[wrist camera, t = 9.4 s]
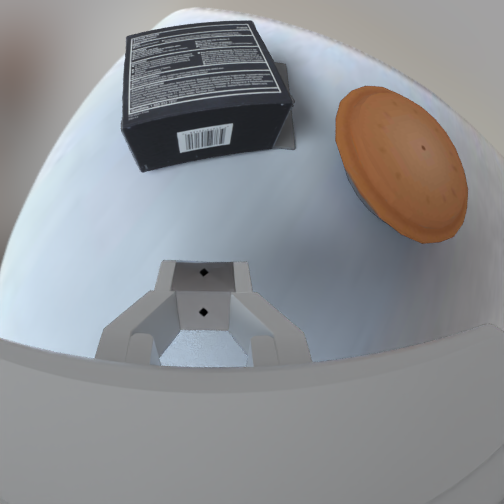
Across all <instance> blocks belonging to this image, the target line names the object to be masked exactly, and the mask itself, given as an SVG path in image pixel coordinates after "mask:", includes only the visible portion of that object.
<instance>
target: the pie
mask: <svg viewBox="0 0 504 504" xmlns="http://www.w3.org/2000/svg"><path fill="white" fill-rule="evenodd" d="M335 141H336V144H337V146H338V149H339V152H340V155H341V158H342V161H343V165H344V167H345V170H346V174H347V177H348V180H349V182H350V184H351V185H352V187H353V189H354V191H355V193H356V194H357V196H358V197H359V199H360V200H361V201H362V202H363V203H364V204H365V206H366V207H367V208H368V209H369V210H370V211H371V212H372V213H373V214H375V215H376V216H377V217H379V218H380V219H381V220H383V221H384V222H385V223H387V224H389V225H390V226H391V227H392V228H394V229H395V230H396V231H398V232H399V233H400V234H401V235H404V236H406V237H408V238H411V239H413V240H415V241H417V242H420V243H422V244H424V243H436V242H442V241H444V240H447V239H449V238H452V237H454V236H455V234H456V233H457V231H458V230H459V229H460V227H461V226H462V224H463V222H464V218H465V214H466V210H467V200H468V187H467V182H466V177H465V173H464V169H463V167H462V163H461V161H460V158H459V156H458V153H457V151H456V148H455V146H454V145H453V143H452V141H451V140H450V138H449V136H448V135H447V133H446V132H445V130H444V129H443V128H442V127H441V126H440V124H439V123H438V122H437V121H436V120H435V118H433V117H432V116H431V115H430V114H429V113H428V112H427V111H426V110H424V109H423V108H422V107H421V106H419V105H417V104H416V103H414V102H413V101H411V100H409V99H408V98H405V97H403V96H402V95H400V94H398V93H395V92H393V91H391V90H388V89H386V88H384V87H376V86H364V87H361V88H358V89H355V90H352V91H351V92H350V93H349V94H348V95H347V96H346V97H345V98H343V99H342V100H341V101H340V104H339V108H338V112H337V115H336V137H335Z"/></svg>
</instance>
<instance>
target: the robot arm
mask: <svg viewBox="0 0 504 504" xmlns="http://www.w3.org/2000/svg"><path fill="white" fill-rule="evenodd" d="M180 330H221V331H229V333H230V334H231V335H232V337H233V338H234V339H235V341H236V342H237V343H238V344H239V346H240V347H241V348H242V350H243V351H244V352H245V353H246V355H247V356H248V357H247V363H246V367H177V366H161V363H160V359H159V358H160V357H161V355H162V354H163V353H164V351H165V350H166V349H167V348H168V346H169V345H170V344H171V343H172V341H173V340H174V339H175V337H176V336H177V335H178V334H179V332H180ZM0 504H504V331H502V330H501V329H499V328H498V327H496V326H494V325H493V324H484V325H481V326H478V327H475V328H472V329H469V330H466V331H463V332H460V333H457V334H453V335H450V336H447V337H443V338H439V339H436V340H432V341H428V342H424V343H420V344H416V345H412V346H408V347H403V348H399V349H394V350H389V351H384V352H379V353H373V354H368V355H362V356H356V357H349V358H342V359H335V360H327V361H319V362H312V358H311V355H310V351H309V348H308V345H307V341H306V338H305V335H304V332H303V331H301V330H300V329H299V328H298V327H297V326H295V325H294V324H293V323H292V322H291V321H290V320H288V319H287V318H286V317H285V316H284V315H283V314H281V313H280V312H279V311H278V310H277V309H276V308H274V307H273V306H272V305H271V304H270V303H269V302H268V301H266V300H265V299H264V298H263V297H262V296H261V295H260V294H258V293H257V292H253V290H252V284H251V278H250V272H249V265H248V262H247V261H244V262H203V261H179V260H177V261H176V260H163V261H162V262H161V265H160V269H159V273H158V276H157V280H156V285H155V289H154V291H149V292H148V293H146V294H145V295H144V296H143V297H141V298H140V299H139V300H138V301H136V302H135V303H134V304H133V305H132V306H130V307H129V308H128V309H127V310H126V311H124V312H123V313H122V314H121V315H119V316H118V317H117V318H116V319H115V320H113V321H112V322H111V323H110V324H109V325H108V326H106V327H105V328H104V329H103V332H102V335H101V338H100V342H99V345H98V348H97V352H96V355H95V359H94V358H87V357H81V356H75V355H70V354H64V353H59V352H54V351H50V350H45V349H41V348H36V347H32V346H28V345H24V344H20V343H17V342H13V341H10V340H6V339H3V338H0Z"/></svg>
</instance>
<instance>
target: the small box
mask: <svg viewBox="0 0 504 504" xmlns="http://www.w3.org/2000/svg"><path fill="white" fill-rule="evenodd" d="M122 101H123V106H122V108H123V109H122V113H123V115H122V121H121V132H122V134H123V136H124V138H125V140H126V142H127V144H128V147H129V149H130V151H131V153H132V155H133V157H134V159H135V161H136V164H137V165H138V167H139V169H140V171H141V172H146V171H150V170H154V169H158V168H162V167H166V166H171V165H175V164H180V163H185V162H190V161H195V160H200V159H206V158H211V157H217V156H222V155H229V154H235V153H242V152H249V151H257V150H264V149H272V148H273V147H274V145H275V143H276V141H277V139H278V137H279V134H280V132H281V130H282V127H283V125H284V123H285V121H286V119H287V116H288V115H289V112H290V110H291V109H292V107H293V104H294V103H295V101H294V99H293V98H292V96H291V95H290V93H289V92H288V90H287V88H286V86H285V83H284V82H283V79H282V77H281V75H280V74H279V71H278V69H277V67H276V65H275V63H274V61H273V59H272V57H271V55H270V54H269V52H268V50H267V48H266V46H265V44H264V42H263V41H262V39H261V37H260V35H259V33H258V32H257V30H256V27H255V25H254V23H253V21H220V22H206V23H195V24H187V25H180V26H173V27H167V28H161V29H156V30H151V31H146V32H142V33H138V34H134V35H130V36H127V37H126V53H125V62H124V76H123V96H122Z"/></svg>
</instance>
